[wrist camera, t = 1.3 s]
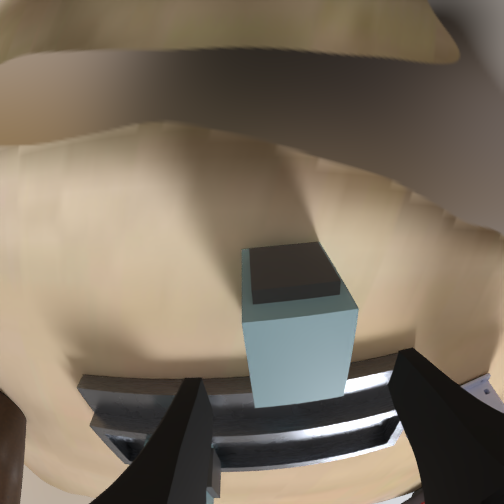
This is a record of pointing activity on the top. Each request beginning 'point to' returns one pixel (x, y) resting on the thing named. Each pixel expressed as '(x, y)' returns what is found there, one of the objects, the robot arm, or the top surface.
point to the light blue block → (212, 477)
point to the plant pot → (11, 451)
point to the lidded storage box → (296, 324)
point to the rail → (254, 418)
